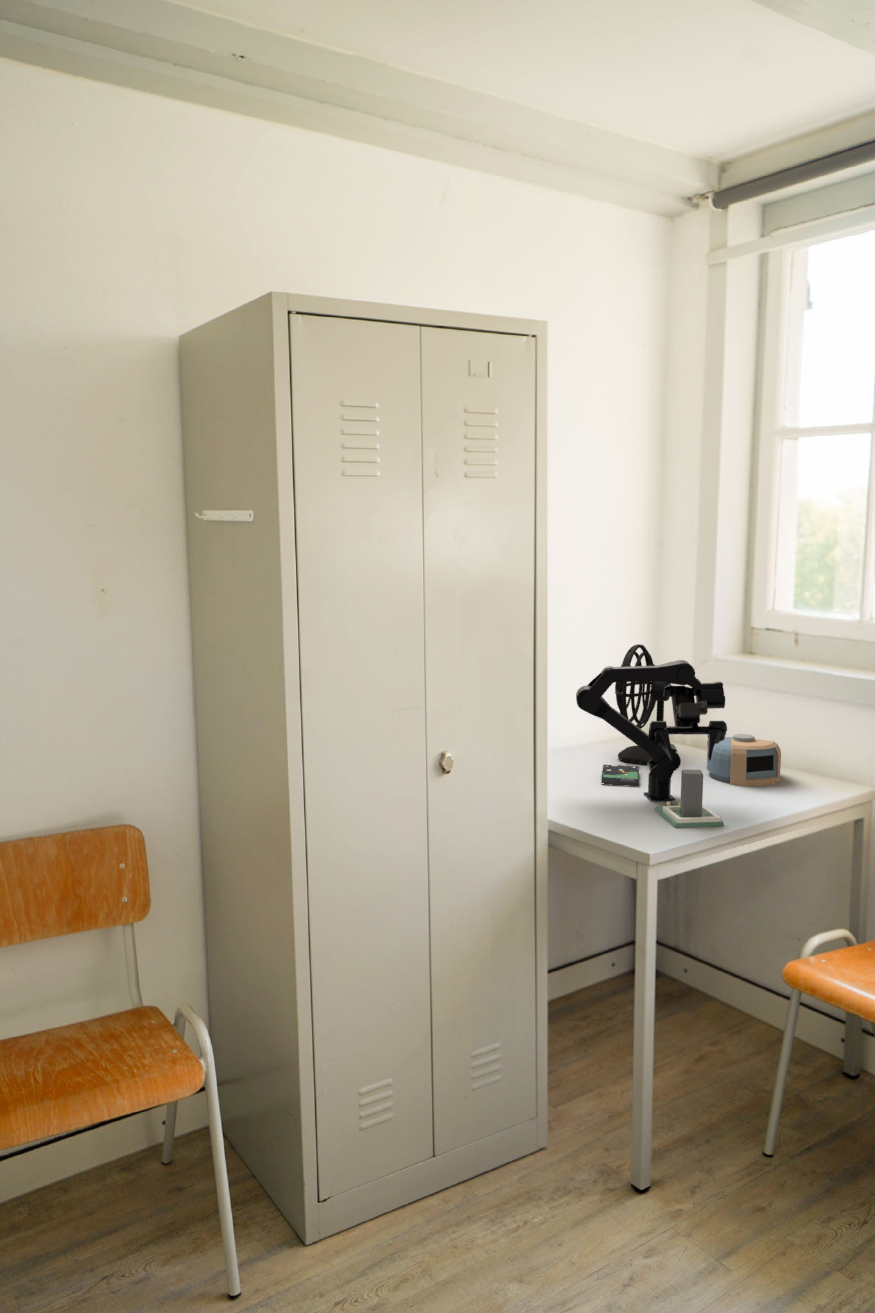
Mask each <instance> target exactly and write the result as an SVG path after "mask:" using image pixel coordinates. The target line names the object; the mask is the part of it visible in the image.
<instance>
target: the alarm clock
mask: <svg viewBox="0 0 875 1313" xmlns="http://www.w3.org/2000/svg"><path fill="white" fill-rule="evenodd" d="M781 750H782V749H781V748H780V746H779V744H778V743H776V742H775V741H774V740H765V739H758V738H755V735H752V734H747V733H736V734H733V736H728V737H726V736H725V739H724V740H723V741H720V742H719V743H718V744H715V745H714V748H713V752H712V757H711V761H709V759H708V751H707V754H706V756H707V757H706V770H707V771H708V772H709V773H710V777H711V778H713V779H715V780H717V779H718V781H721V782H724V781H725V783H729V785H730V786H731V785H732V786H742V787H762V786H761V785H767V786H772V785H771V784H773V783H776V784H778V783H777V782H778V781H780V780H781V766H782V765H781V763H782V752H781ZM779 779H780V780H779ZM773 785H774V784H773Z"/></svg>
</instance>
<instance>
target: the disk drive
mask: <svg viewBox="0 0 875 1313" xmlns="http://www.w3.org/2000/svg"><path fill="white" fill-rule="evenodd" d="M639 778H640V766H639V765H638V766H637V765H622V764H618V765H612V764H603V765H602V771H601V782H600V784H601V783H604V784H612V785H611V786H619V785H629V786H628V787H637V786H638V787H639V786H640V785H639V784H640V783H639V782H640V779H639Z"/></svg>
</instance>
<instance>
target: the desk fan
mask: <svg viewBox="0 0 875 1313" xmlns="http://www.w3.org/2000/svg"><path fill="white" fill-rule="evenodd" d="M638 649H640V650H641V651H642V652H640V654H639V653H638V652H637V650H638ZM634 656H635V658H636V662H635V664H634V666H643V664H642V659H643V657H644V661H645V666H656V665H655V663H654V661H653V660H654V659H653V658H652V656H651V654H650V652H649V651H648V649H647V648H646V646H644V644H635V645H632V646H631V647H630V648H629V649H628V651H627V652H626V654H625V655H624V657H623V660H622V662H621V665H620V667H630V666H631V663H632V660H633V658H634ZM669 684H671V683H666V682H661V681H642V682H615V685H614V693H615V698H616V699H615V700H616V705H617V708H618V709H619V713H620V714H621V715H623V716H624V717H625V718H627V719H628V720H629V721H631V722H632V723H633V722H635V723H637V724H635V725H636V726H637V727H639V728H640V729H641V730H642V728H644V727H645V726H646V725H647V724H648V722H649V720H650V717H651V715H652V712H653V711H654V709H655V707H656V720H655V721H665V720H664V718H665V717H664V716H665V715H664V714H665V702H668V701H669V700H670V697H664V696H663V695H664V688H665V687H667V686H668V685H669ZM636 685H637V686H638V693H636ZM671 685H672V684H671ZM627 687H630V688H629V693H627ZM627 698H628V699H627ZM635 698H636V699H637V701H635ZM641 701H642V707H643V708H642V712H641V715H640V718H638V713H639V709H640V704H641ZM629 705H631V713H632V715H631V717H630V718H629V715H628V714H629V713H628V708H629ZM617 757H618V759H619V760H620V761H624V762H626V763H627V762H629V763H636V764H645V765H647V763H648V762H649V761H650V760H651V759H652V758H651V757H650V756H649V755H648V754H647V753H646V751H645V750H643V749H642V748H641V747H639V746H638V745H637V744H636V745H632V746H627V747H626V748H624V749H622V750H621V751H619V752H618V754H617Z"/></svg>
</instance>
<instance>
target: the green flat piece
mask: <svg viewBox="0 0 875 1313" xmlns="http://www.w3.org/2000/svg"><path fill="white" fill-rule="evenodd" d="M680 802H681V800H680V801H678V805H671V801H667V802H666V806H665V805H664V806H663V805H661V806H659V805H658V806H654V811H655V812H656V813H657V814H659V816H660V817H662V818H663V819H664V820H666V821H667V822H668V823H669V824H670V825H671V826H673V827H674V828H675V829H676V828H699V827H701V828H703V827H704V828H705V827H724V825H725V822H724V821H723V820H722V819H721V816H719V815H718V814H716V813H715V812H714V811H713V810H711V809H710V808H708V807H707V806H705V805H704V804H702V817H686V818H682V816H681V814H680Z"/></svg>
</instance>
